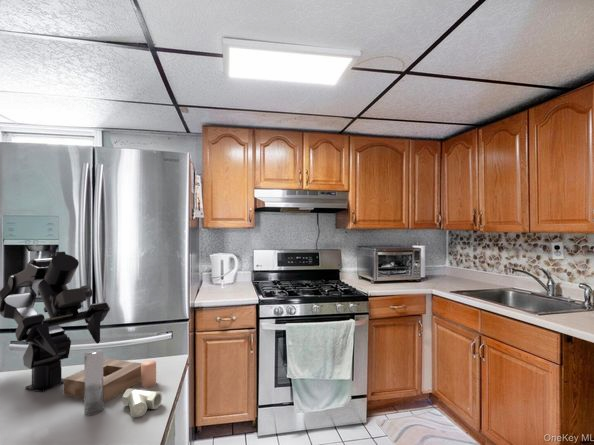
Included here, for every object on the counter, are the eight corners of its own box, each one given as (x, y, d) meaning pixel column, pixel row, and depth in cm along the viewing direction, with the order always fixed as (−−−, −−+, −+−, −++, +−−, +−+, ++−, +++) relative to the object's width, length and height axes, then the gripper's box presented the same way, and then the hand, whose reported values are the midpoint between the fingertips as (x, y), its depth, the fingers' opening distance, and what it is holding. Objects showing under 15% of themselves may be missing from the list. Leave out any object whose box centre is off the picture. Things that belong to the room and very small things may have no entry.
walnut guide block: (63, 394, 81) (63, 378, 81) (108, 372, 94) (108, 358, 94) (104, 402, 77) (104, 385, 77) (145, 378, 90) (145, 363, 90)
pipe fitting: (142, 423, 70) (162, 404, 76) (141, 405, 70) (161, 388, 76) (111, 418, 72) (133, 400, 78) (110, 401, 71) (132, 384, 78)
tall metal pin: (80, 414, 73) (80, 354, 73) (95, 405, 76) (94, 349, 76) (93, 416, 71) (92, 356, 72) (107, 408, 75) (106, 350, 75)
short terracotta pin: (138, 386, 85) (138, 365, 85) (148, 380, 89) (148, 360, 89) (149, 388, 84) (149, 366, 84) (159, 382, 87) (159, 361, 88)
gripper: (20, 281, 73) (42, 339, 67) (106, 271, 89) (130, 317, 83) (6, 312, 77) (26, 370, 71) (91, 298, 93) (112, 344, 87)
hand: (78, 348), depth 78 cm, fingers open, 9 cm apart
